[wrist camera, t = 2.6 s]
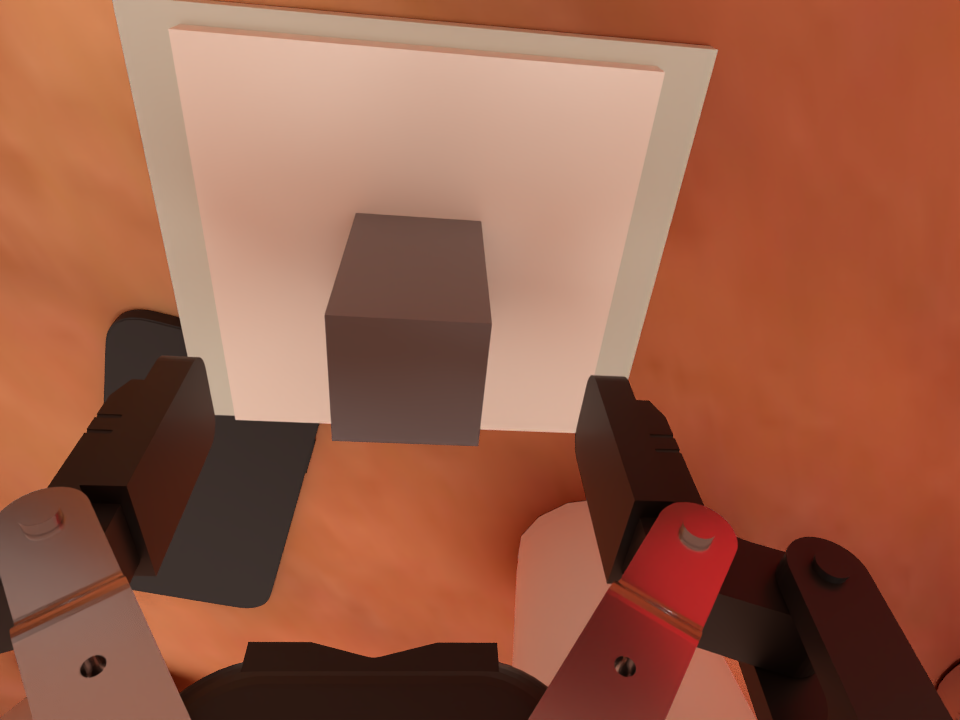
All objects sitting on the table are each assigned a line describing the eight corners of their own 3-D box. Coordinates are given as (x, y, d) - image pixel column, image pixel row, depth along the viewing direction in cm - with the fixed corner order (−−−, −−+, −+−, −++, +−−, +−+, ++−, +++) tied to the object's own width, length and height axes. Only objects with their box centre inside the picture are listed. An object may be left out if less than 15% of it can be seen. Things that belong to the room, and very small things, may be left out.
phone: (96, 584, 28) (103, 308, 20) (104, 568, 29) (114, 295, 21) (266, 613, 30) (336, 368, 22) (270, 597, 31) (339, 354, 23)
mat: (710, 45, 17) (717, 49, 16) (610, 420, 24) (614, 430, 24) (121, -8, 16) (110, -6, 15) (205, 403, 23) (199, 414, 23)
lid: (656, 66, 17) (750, 135, 11) (576, 418, 23) (613, 561, 18) (179, 23, 16) (48, 79, 10) (241, 405, 22) (180, 551, 17)
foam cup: (637, 438, 25) (777, 828, 14) (725, 559, 30) (881, 923, 19) (441, 535, 28) (436, 921, 17) (549, 632, 32) (599, 984, 22)
